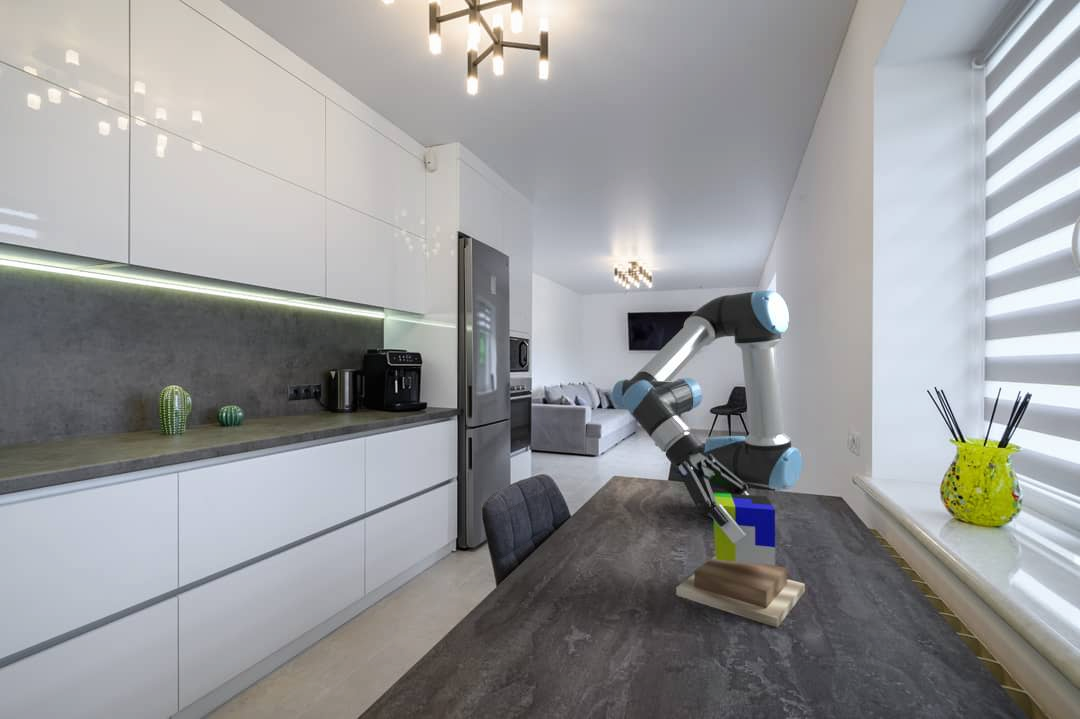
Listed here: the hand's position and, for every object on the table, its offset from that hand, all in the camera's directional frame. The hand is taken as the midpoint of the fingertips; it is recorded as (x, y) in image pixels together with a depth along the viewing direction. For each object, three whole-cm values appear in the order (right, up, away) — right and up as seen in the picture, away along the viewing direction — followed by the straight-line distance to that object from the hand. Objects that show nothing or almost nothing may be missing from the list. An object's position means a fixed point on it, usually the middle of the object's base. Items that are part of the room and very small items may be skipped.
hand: (752, 530), depth 94 cm
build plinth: (-2, -13, +1) cm, 13 cm away
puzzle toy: (-1, -5, +1) cm, 5 cm away
